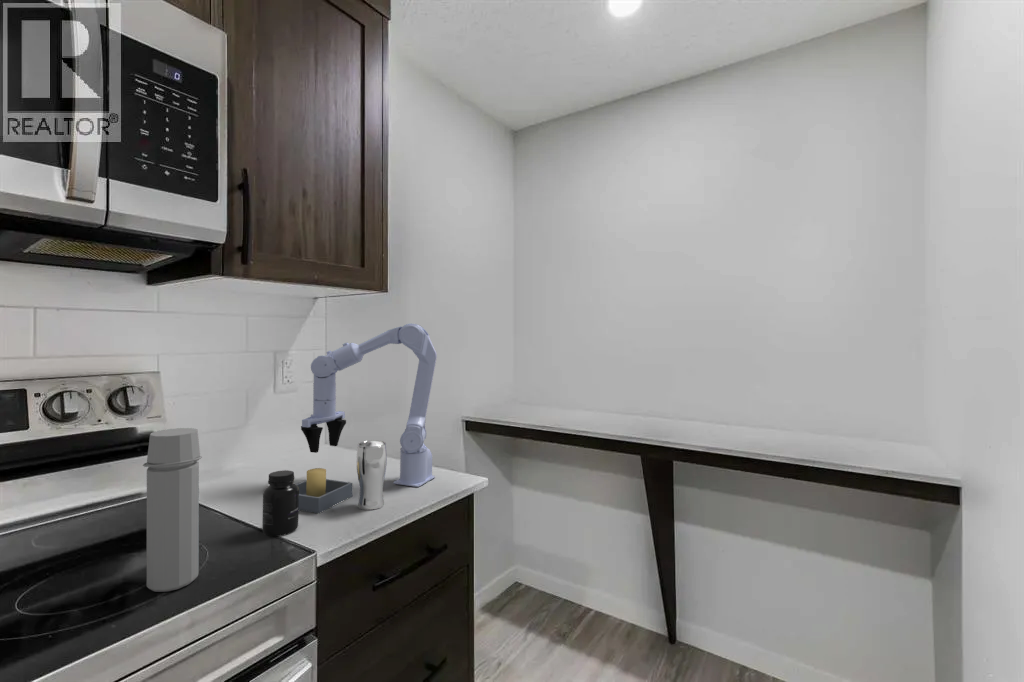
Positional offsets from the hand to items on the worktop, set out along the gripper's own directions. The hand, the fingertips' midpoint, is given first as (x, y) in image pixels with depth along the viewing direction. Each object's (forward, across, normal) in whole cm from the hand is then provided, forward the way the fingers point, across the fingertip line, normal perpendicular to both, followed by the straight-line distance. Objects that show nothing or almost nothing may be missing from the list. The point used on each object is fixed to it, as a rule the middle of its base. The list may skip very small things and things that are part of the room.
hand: (324, 448), depth 130 cm
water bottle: (+10, +50, +12) cm, 52 cm away
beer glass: (+10, +9, +22) cm, 26 cm away
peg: (+9, +12, +8) cm, 17 cm away
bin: (+9, +12, +8) cm, 17 cm away
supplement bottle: (+10, +28, +13) cm, 32 cm away
